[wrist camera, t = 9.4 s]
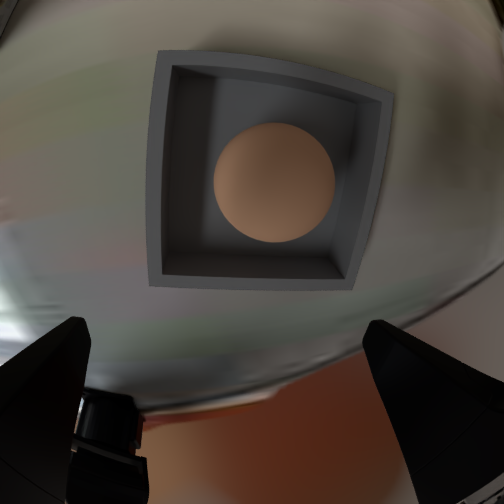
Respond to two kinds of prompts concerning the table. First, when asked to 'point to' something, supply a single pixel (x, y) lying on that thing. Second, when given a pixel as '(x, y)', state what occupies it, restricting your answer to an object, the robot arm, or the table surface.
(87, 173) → the table surface
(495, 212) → the table surface
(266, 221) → the ball
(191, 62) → the grey open square tray
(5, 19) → the coffee box
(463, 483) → the robot arm
